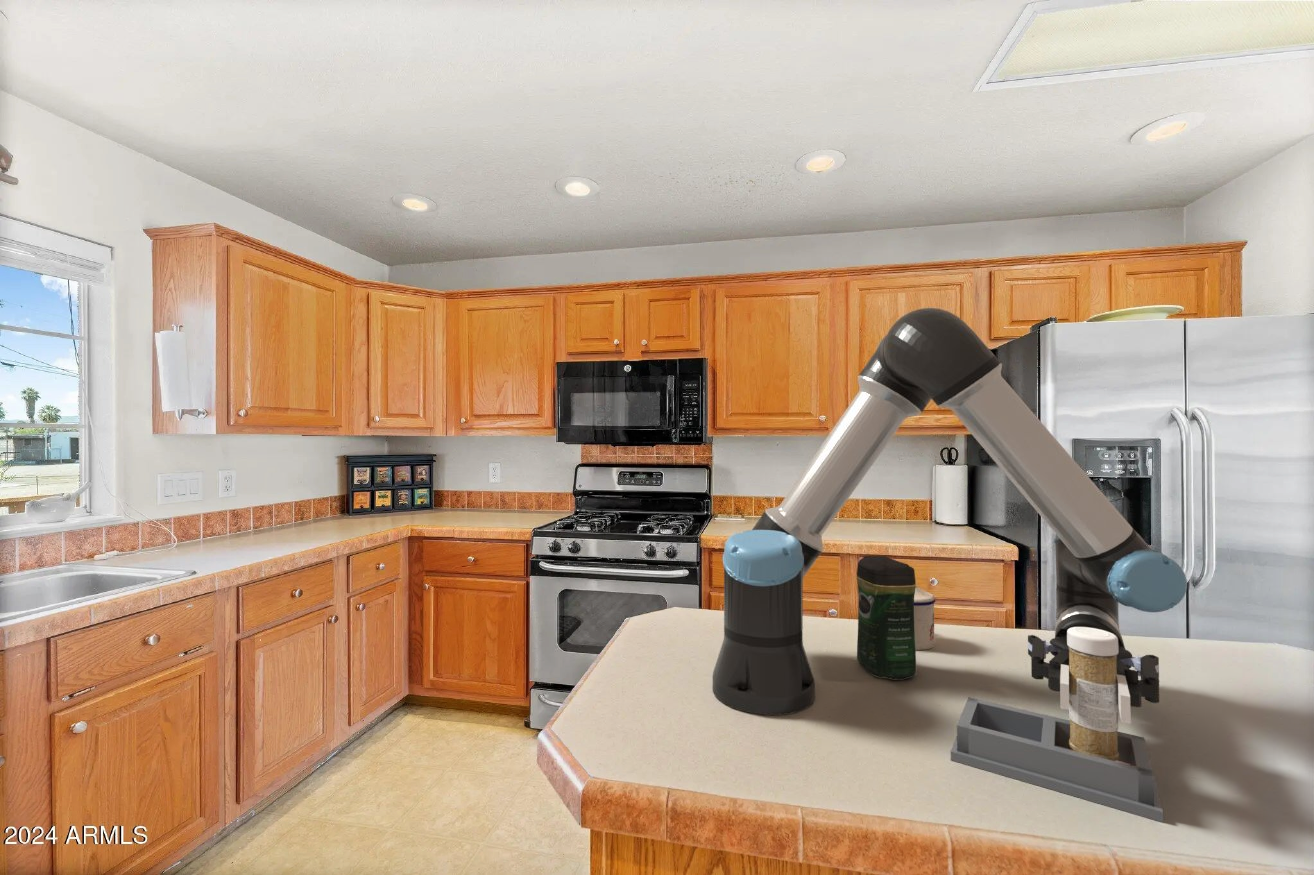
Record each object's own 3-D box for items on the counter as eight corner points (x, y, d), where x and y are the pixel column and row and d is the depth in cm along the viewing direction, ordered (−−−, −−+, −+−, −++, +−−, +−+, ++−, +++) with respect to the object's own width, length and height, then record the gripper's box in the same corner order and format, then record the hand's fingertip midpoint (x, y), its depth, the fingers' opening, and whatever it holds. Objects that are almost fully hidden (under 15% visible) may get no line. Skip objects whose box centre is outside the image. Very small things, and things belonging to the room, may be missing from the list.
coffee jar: (925, 681, 89) (924, 563, 90) (876, 683, 89) (876, 564, 89) (894, 658, 99) (893, 551, 99) (850, 659, 98) (849, 552, 99)
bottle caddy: (950, 759, 67) (950, 725, 67) (964, 724, 76) (964, 694, 76) (1163, 822, 56) (1162, 781, 56) (1150, 772, 64) (1150, 736, 65)
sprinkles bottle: (1073, 738, 67) (1071, 622, 67) (1123, 753, 63) (1121, 631, 63) (1064, 752, 63) (1062, 631, 64) (1116, 769, 60) (1114, 641, 60)
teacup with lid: (943, 652, 102) (943, 587, 102) (891, 650, 103) (891, 585, 103) (919, 630, 114) (919, 572, 114) (872, 629, 115) (872, 571, 115)
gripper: (1173, 683, 73) (1210, 766, 54) (1014, 654, 83) (997, 715, 64) (1173, 624, 73) (1209, 687, 54) (1013, 602, 83) (997, 649, 64)
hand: (1094, 702), depth 59 cm, fingers closed on sprinkles bottle, 4 cm apart
